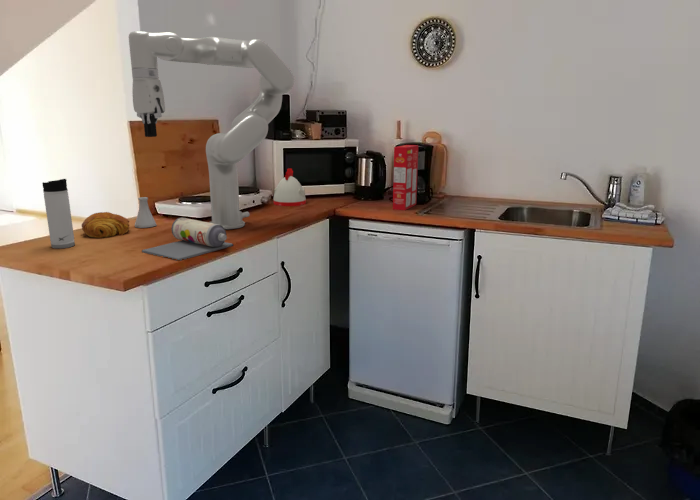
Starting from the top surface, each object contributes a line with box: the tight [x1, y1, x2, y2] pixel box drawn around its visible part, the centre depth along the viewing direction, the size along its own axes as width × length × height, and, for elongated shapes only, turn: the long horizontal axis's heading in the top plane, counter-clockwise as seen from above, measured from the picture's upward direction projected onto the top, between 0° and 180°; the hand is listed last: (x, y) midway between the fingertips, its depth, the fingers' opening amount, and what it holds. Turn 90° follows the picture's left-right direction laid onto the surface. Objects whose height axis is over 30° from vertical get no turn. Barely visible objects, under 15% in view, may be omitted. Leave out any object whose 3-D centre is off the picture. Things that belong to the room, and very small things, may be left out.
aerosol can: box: [171, 217, 228, 247], centre depth 159 cm, size 7×7×20 cm
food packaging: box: [392, 144, 419, 211], centre depth 221 cm, size 15×5×25 cm, turn 155°
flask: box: [134, 196, 158, 229], centre depth 185 cm, size 7×7×10 cm
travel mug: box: [41, 178, 76, 250], centre depth 156 cm, size 6×7×20 cm
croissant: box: [81, 211, 130, 239], centre depth 175 cm, size 14×16×8 cm
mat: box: [141, 240, 234, 261], centre depth 156 cm, size 20×16×1 cm
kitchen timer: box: [272, 167, 307, 207], centre depth 229 cm, size 14×14×15 cm
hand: (151, 136), depth 168 cm, fingers closed
